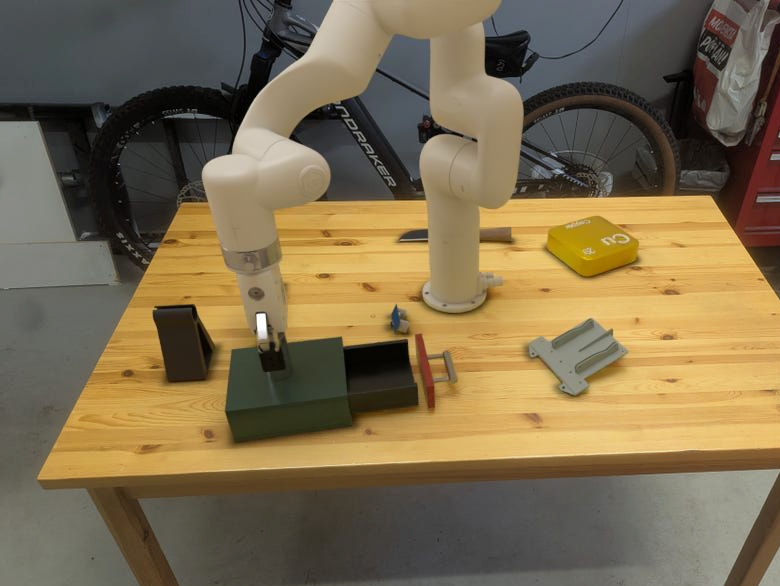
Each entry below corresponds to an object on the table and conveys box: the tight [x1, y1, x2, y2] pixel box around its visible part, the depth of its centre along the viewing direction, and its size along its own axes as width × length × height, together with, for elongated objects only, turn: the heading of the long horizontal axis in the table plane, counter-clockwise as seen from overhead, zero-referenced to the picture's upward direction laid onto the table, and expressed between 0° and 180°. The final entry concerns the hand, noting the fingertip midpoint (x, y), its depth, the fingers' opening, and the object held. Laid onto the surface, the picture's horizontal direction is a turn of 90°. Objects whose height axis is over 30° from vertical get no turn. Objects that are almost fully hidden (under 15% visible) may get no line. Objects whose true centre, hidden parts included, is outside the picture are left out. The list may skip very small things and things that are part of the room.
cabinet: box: [224, 335, 353, 443], centre depth 105 cm, size 18×15×7 cm
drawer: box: [343, 333, 459, 416], centre depth 108 cm, size 21×13×5 cm, turn 102°
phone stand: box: [151, 303, 216, 383], centre depth 110 cm, size 9×6×12 cm, turn 6°
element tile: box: [546, 215, 640, 278], centre depth 142 cm, size 15×15×5 cm
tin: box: [266, 326, 293, 381], centre depth 100 cm, size 4×4×8 cm
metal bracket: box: [528, 317, 629, 396], centre depth 115 cm, size 14×6×15 cm
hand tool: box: [398, 226, 512, 242], centre depth 148 cm, size 6×3×25 cm
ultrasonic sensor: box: [389, 303, 410, 335], centre depth 122 cm, size 6×2×3 cm, turn 12°
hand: (275, 349), depth 100 cm, fingers open, 9 cm apart
